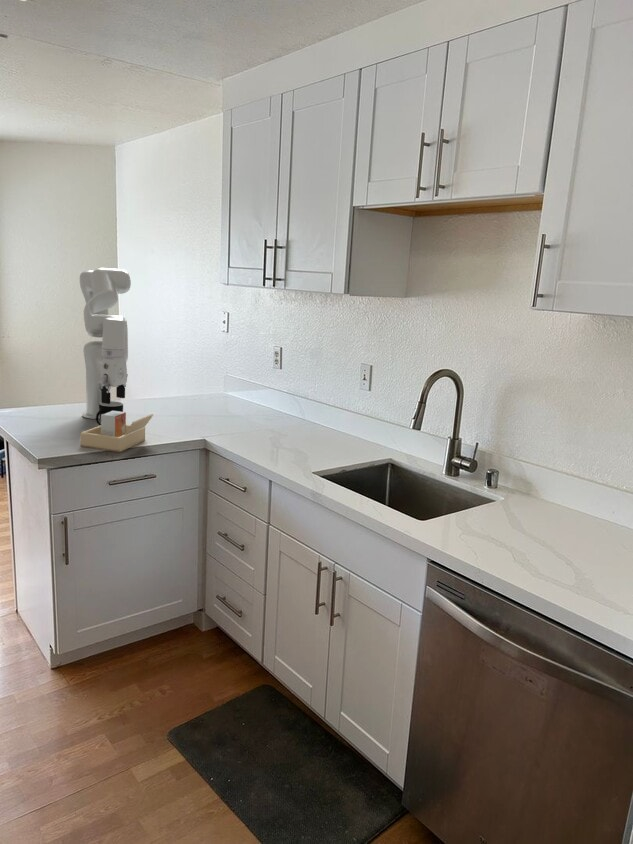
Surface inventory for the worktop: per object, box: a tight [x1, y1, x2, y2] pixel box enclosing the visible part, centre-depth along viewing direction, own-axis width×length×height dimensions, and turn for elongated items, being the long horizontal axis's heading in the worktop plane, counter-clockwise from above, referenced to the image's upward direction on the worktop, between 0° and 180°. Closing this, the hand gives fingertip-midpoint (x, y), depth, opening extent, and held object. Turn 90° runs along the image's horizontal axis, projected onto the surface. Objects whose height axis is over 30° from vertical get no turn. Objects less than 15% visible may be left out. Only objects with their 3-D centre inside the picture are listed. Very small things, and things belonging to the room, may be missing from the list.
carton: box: [79, 424, 146, 453], centre depth 225 cm, size 18×15×5 cm
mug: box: [95, 400, 124, 426], centre depth 242 cm, size 12×9×10 cm
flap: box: [124, 413, 154, 435], centre depth 222 cm, size 14×6×1 cm
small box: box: [100, 411, 127, 437], centre depth 224 cm, size 8×6×10 cm
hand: (113, 400), depth 223 cm, fingers open, 9 cm apart
